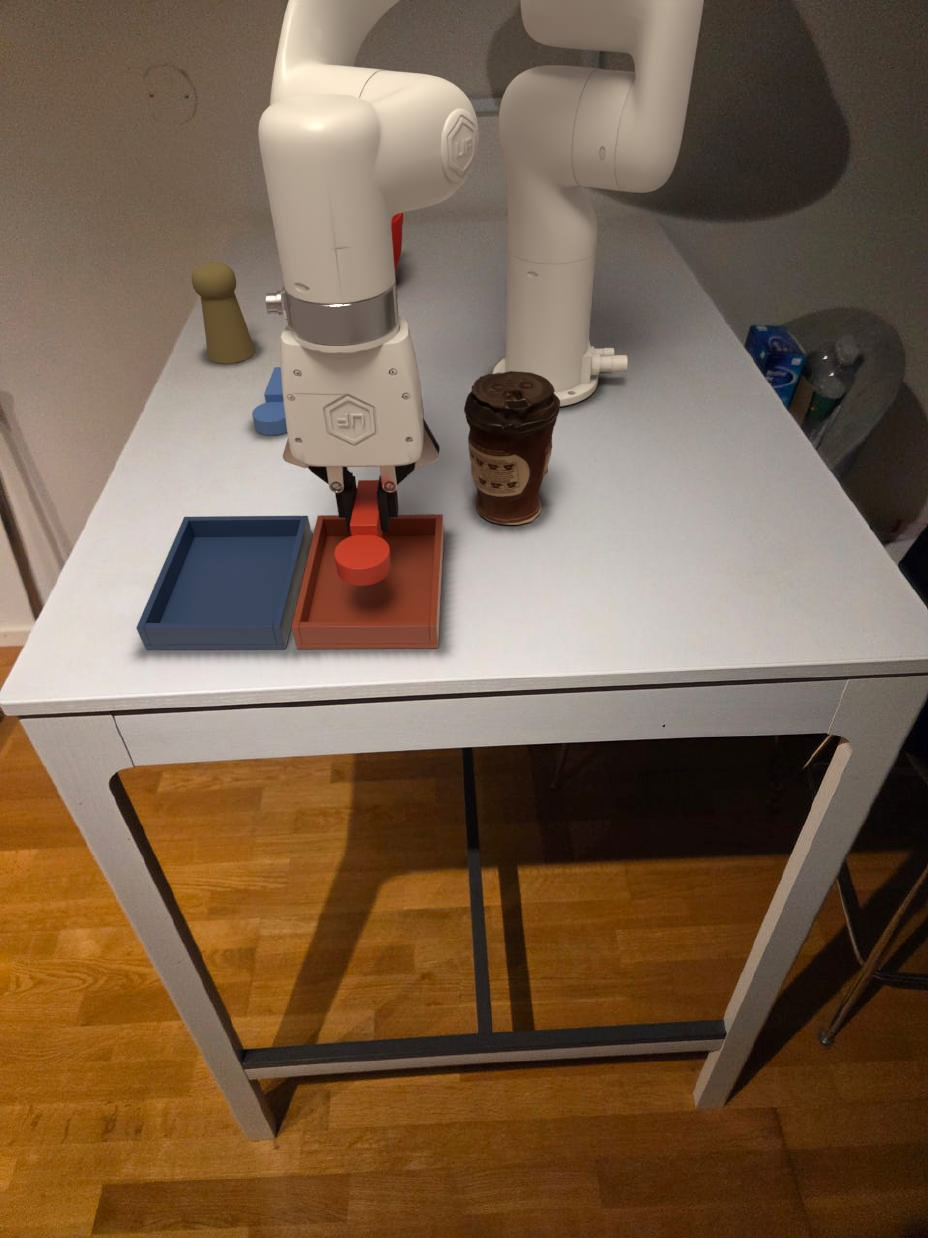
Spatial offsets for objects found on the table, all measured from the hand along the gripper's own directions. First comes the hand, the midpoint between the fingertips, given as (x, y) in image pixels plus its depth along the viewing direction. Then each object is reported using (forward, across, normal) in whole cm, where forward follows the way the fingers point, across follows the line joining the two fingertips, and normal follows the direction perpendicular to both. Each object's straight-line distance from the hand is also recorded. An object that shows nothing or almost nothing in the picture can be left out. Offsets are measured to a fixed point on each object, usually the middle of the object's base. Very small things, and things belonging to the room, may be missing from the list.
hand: (370, 520), depth 68 cm
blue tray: (+6, -12, -2) cm, 14 cm away
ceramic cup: (+5, -7, +65) cm, 66 cm away
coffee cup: (+6, +12, +9) cm, 16 cm away
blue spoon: (+6, -14, +28) cm, 32 cm away
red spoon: (+1, 0, -2) cm, 3 cm away
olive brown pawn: (+6, -23, +43) cm, 49 cm away
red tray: (+6, 0, -2) cm, 6 cm away
